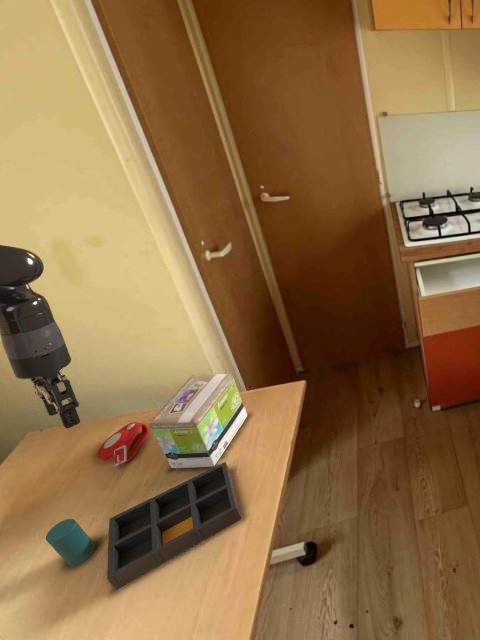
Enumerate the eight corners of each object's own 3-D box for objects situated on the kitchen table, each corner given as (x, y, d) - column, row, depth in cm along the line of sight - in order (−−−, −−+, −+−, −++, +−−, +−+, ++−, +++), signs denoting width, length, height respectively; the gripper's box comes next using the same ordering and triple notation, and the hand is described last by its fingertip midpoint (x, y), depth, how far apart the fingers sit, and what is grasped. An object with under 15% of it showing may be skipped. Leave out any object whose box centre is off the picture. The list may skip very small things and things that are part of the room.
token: (66, 570, 77) (43, 546, 74) (68, 552, 80) (46, 528, 76) (95, 555, 80) (74, 531, 76) (96, 538, 82) (76, 514, 79)
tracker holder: (84, 455, 97) (125, 415, 105) (100, 464, 100) (139, 425, 107) (111, 463, 92) (152, 421, 100) (127, 472, 95) (166, 431, 102)
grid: (115, 589, 75) (106, 579, 73) (117, 529, 84) (109, 518, 82) (241, 518, 86) (236, 508, 84) (230, 472, 95) (225, 461, 93)
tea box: (216, 467, 96) (194, 422, 89) (171, 469, 95) (144, 424, 89) (249, 415, 109) (232, 372, 102) (209, 416, 109) (189, 373, 102)
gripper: (-5, 348, 81) (26, 419, 85) (20, 365, 74) (51, 442, 79) (50, 332, 87) (75, 399, 92) (77, 347, 81) (103, 418, 85)
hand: (64, 419), depth 85 cm, fingers open, 8 cm apart
